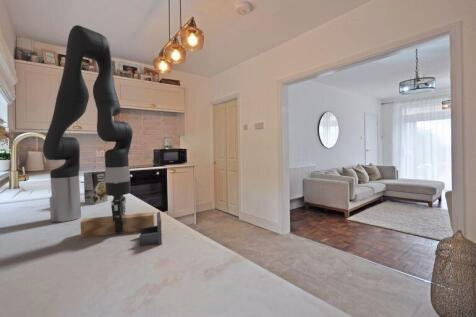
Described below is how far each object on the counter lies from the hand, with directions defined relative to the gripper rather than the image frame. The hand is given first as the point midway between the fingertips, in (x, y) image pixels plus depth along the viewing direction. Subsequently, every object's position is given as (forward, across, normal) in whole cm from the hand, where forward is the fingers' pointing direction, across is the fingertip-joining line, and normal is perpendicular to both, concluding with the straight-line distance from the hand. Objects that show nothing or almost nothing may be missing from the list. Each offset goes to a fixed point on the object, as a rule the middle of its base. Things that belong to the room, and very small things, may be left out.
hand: (120, 229), depth 79 cm
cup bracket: (+1, +12, +10) cm, 15 cm away
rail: (+1, 0, 0) cm, 1 cm away
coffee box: (+1, -52, -17) cm, 55 cm away
